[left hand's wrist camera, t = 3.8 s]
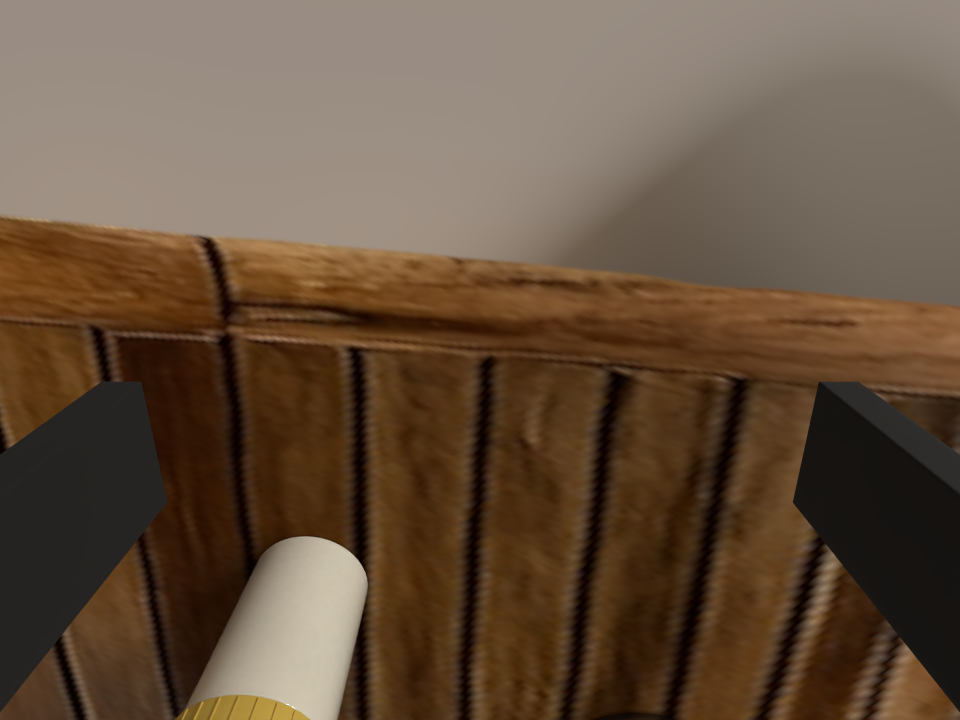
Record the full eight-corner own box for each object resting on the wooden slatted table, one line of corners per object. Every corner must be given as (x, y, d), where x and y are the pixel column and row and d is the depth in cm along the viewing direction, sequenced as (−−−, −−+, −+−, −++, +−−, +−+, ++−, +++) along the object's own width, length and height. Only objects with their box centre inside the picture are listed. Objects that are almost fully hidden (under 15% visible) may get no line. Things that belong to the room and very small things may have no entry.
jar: (254, 529, 47) (149, 723, 32) (371, 542, 47) (322, 739, 33) (253, 620, 50) (158, 834, 35) (363, 631, 51) (315, 848, 36)
